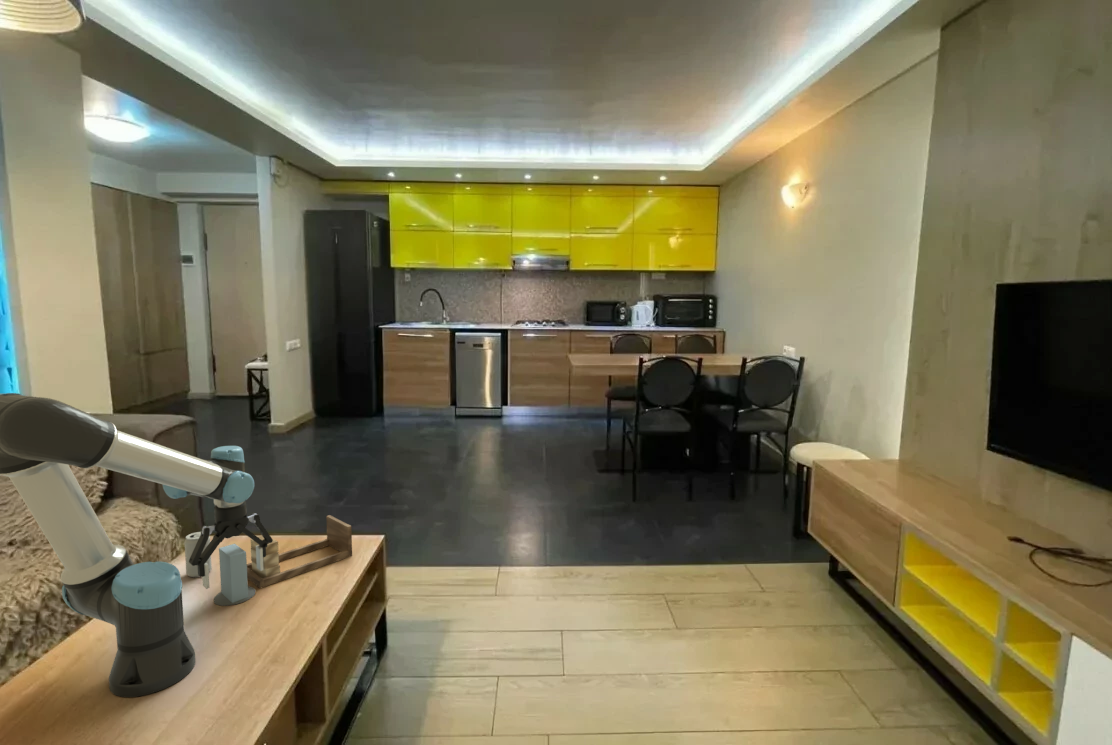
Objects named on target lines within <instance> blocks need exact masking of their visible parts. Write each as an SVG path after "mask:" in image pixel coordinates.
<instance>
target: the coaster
mask: <svg viewBox="0 0 1112 745" xmlns="http://www.w3.org/2000/svg"><path fill="white" fill-rule="evenodd" d="M255 592H256V588H254V587H253V586H251V585H250V586H249V585H248V597H247V598H245V599H242V600H239V601H236V602H234V603H232V602H231V601H230V600H229V599H228V598H226V597H225V596H224V595H223V594H222V593H221V591H220V592H219V593H217V594H216V595H215V596H214V597H213V603H214V604H215V605H217V606H221V607H224V606H225V607H227V606H235V605H239V604H242V603H245V602H248V601H249V600H251V599H252V598H253V597H255V595H256V593H255ZM250 598H251V599H250Z"/></svg>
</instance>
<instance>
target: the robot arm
mask: <svg viewBox="0 0 1112 745" xmlns="http://www.w3.org/2000/svg"><path fill="white" fill-rule="evenodd" d="M245 463H246V461H245V455H244V450H243V448H242V447H241V446H238V445H223V446H218V447H215V448H213V449H212V450H211V452H210V458H208V459H202V458H199V457H196V456H194V455H190V454H187V453H184V452H182V451H179V450H177V449H173V448H170V447H168V446H167V447H166V446H165V445H161V444H159V443H155V442H153V441H149V440H147V439H144V438H141V437H139V436H136V435H132V434H129V433H126V432H124V431H120V430H117V427H116V425H115V424H114V423H113V422H111V421H109V420H105V419H103V418H100V417H99V416H95V415H93V414H91V413H89V412H86V411H84V410H81V409H79V408H76V407H74V406H72V405H70V404H67V403H66V402H62V401H60V400H57V399H53V398H50V397H49V398H48V397H41V396H39V397H37V396H31V395H26V394H22V393H18V392H17V393H16V392H7V393H5V392H4V393H0V476H3V477H7V478H9V480H10V481H11V483H12V485H13V487H14V488H15V489H16V491H17V493H18V494H19V496H20V497H21V499H22V501H23V502H24V504H25V505H26V507H27V509H28V511H29V512H30V514H31V515H32V517H33V519H34V520H35V522H36V523H37V525H38V527H39V528H40V530H41V532H42V534H43V535H44V537H45V538H46V540H47V541H48V542H49V544H50V546H51V548H52V550H53V552H55V555H57V558H58V560H59V561H60V563H61V565H62V566H63V567H64V568H63V570H62V572H61V574H60V581H61V583H62V584H63V585H62V587H61V596H62V599H63V601H64V602H65V604H66V606H68V607H69V608H70V609H71V610H72V611H74V612H75V613H77V614H80V615H83V616H86V617H90V618H94V619H95V620H99V621H102V622H105V623H108V624H111V625H113V626H114V627H115V632H116V633H115V635H116V647H117V649H116V653H115V656H114V659H113V662H112V666H111V669H110V673H109V676H108V685H109V687H108V688H109V690H110V693H111V694H113V695H115V696H117V697H122V698H134V697H135V698H136V697H142V696H146V695H150V694H154V693H157V692H159V691H162V690H165V689H167V688H169V687H170V686H173V685H174V684H177V683H178V682H180V681H181V680H182V679H184V678H185V677H187V676H188V675H189V674H190V673H191V671H193V669H194V668H195V665H196V653H195V652H196V651H195V648H194V647H193V645H192V643H191V641H190V639H189V638H188V635H187V634H186V632H185V624H184V610H183V609H184V606H183V590H182V588H183V581H182V578H181V577H182V576H181V573H180V571H179V568H178V567H177V566H176V565H174V564H172V563H169V562H167V561H158V560H156V561H155V562H152V561H145V562H144V561H143V562H139V563H134V562H133V560H132V558H131V557H130V554H129V553H128V551H127V550H126V547H125V546H123V545H122V544H113V542H112V541H111V539H110V537H109V536H108V534H107V532H106V529H105V528H104V527H103V525H102V522H101V521H100V519H99V517H98V515H97V514H96V512H95V510H94V509H93V507H92V504H91V503H90V501H89V499H88V498H87V496H86V494H85V492H84V490H83V489H82V487H81V485H80V484H79V481H78V480H77V478H76V476H75V474H74V473H73V471H72V469H71V467H70V466H73V467H78V468H81V469H90V468H92V467H98V468H102V469H106V470H109V471H113V472H117V473H120V474H124V475H127V476H131V477H135V478H138V479H142V480H145V481H149V482H153V483H157V484H161V485H162V489H163V491H164V493H165V494H166V496H167V497H169V498H170V499H174V500H175V499H180V498H186V497H188V496H196V497H201V498H207V499H211V500H213V504H214V507H213V513H214V524H213V525H208V526H207V525H202V526H201V527H200V532H201V535H200V537H199V539H198V542H197V544H196V546H195V548H194V550H193V552H192V555H191V557H190V559H189V563H190V564H191V565H192V566H195V565H197V567H198V575H199V576H200V577H199V578H202V586H203V588H205V589H206V590H207V589H210V571H209V568H208V564H207V563H206V561H207V560H208V559H209V557H210V556H211V557H212V555H213V553H214V552H215V550H217V548H218V547H219V545H220V544H221V543H222V542H223V541H224V539H227V540H228V539H231V538H234V537H238V536H240V534H244V535H246V536H247V537H248V538H249V539H250V540H251V539H252V540H254V541H255V542H256V543H258V544H259V545H258V546H256V563H257V569H259V570H260V571H262V570H263V557H266V547H267V544H268V543H272V541H273V539H274V538H272V537H271V535H270V534H269V532H268V530H267V529H266V528H265V526H264V525H263V524H262V522H261V519H260V518H261V517H260V515H259V514H257V513H256V512H253V513H251V515H249V516H248V514H247V502H246V501H247V500H248V499H249V498H250V497H251V496H252V494H253V493H254V489H255V480H254V478H253V476H252V475H251V474H250V473H249V472H248V473H247V472H245V471H246V467H245ZM249 522H250V523H252V524H254V526H255V528H256V529H257V530H258V532H259V533H260V536H263V538H264V540H261V539H259V538H258V537H259V536H256V535H255V534H254V533H253V532H252V531H250V530H249V529H248V528H247V525H248V523H249ZM214 531H215V533H214V535H213V537H212V539H210V543H209V544H208V546H207V547H206V549H205V550H204V551H203V549H204V547H205V545H206V543H207V540H208V538H209V536H210V535H212V533H213V532H214ZM202 551H203V553H202Z"/></svg>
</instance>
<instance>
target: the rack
mask: <svg viewBox="0 0 1112 745" xmlns="http://www.w3.org/2000/svg"><path fill="white" fill-rule="evenodd" d="M325 519H326V539H322V540H319V541H315V542H311V543H310V544H306V545H304V546H300V547H299V546H298V547H296V548H294V549H290V550H287V551H285V552H281V553H278V555H279V563H280V562H283V561H285V560H288V559H291V558H295V557H297V556H301V555H305V554H306V553H311V552H313V551H315V550H316V551H317V550H319V549H322V548H325V547H328V546H329V547H331V548H333V549H334V550H336V551H338V552H336V553H333V554H330V555H327V556H324V557H321V558H319V559H316V560H313V561H309V562H307V563H303V564H301V565H299V566H296V567H292V568H290V569H287V570H284V571H280V573H278V574H275V575H272V576H269V577H266V578H263V579H262V578H261V577H259V576H258V575H257V574H255V573H254V572H253V571H252V562H249V563H247V580H249V581H250V582H251V583H252V584H254V586H256V587H258V588H259V589H262V588H265V587H268V586H270V585H273V584H276V583H279V582H282V581H285V580H288V579H290V578H293V577H296V576H299V575H302V574H304V573H307V572H309V571H313V570H316V569H319V568H321V567H324V566H327V565H329V564H333V563H336V562H338V561H341V560H344V559H347V558H349V557H352V556H353V537H352V535H353V534H352V533H353V532H352V525H351V524H349V523H346V522H345V521H342V520H340V519H338V518H336V517H334V516H333V515H330V514H329V515H326V518H325ZM261 587H262V588H261Z"/></svg>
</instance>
